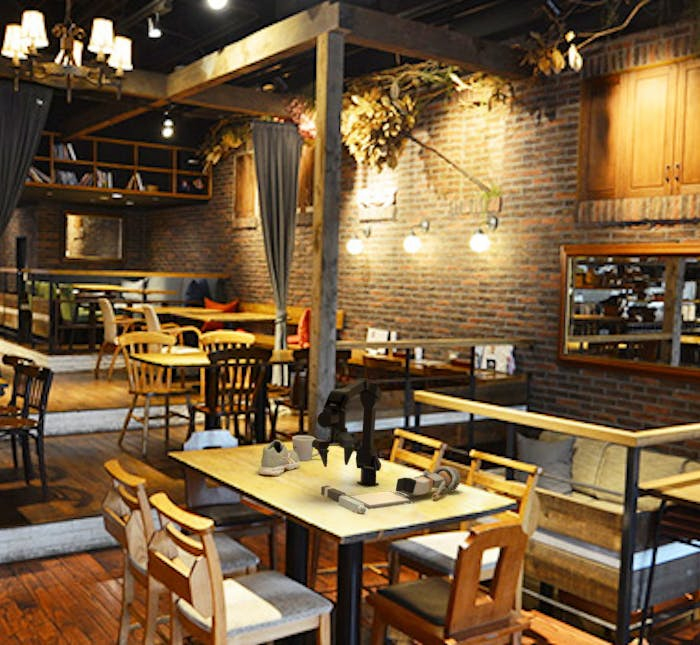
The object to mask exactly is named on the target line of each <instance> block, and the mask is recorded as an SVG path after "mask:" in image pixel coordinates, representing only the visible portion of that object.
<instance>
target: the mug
mask: <svg viewBox="0 0 700 645" xmlns="http://www.w3.org/2000/svg"><path fill="white" fill-rule="evenodd" d="M314 439H316V437H315V436H312V435H302V434H301V435H295V436H292V437H291V440H292V449H293V451H295V452H296V453H297V454H298V457H299V462H309V461H311V460H312V458H314V457H317V456H320V454H319V452H318V451H317V452H316V453H313V452H314V447H312V442H313V440H314Z"/></svg>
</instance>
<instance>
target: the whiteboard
mask: <svg viewBox="0 0 700 645" xmlns="http://www.w3.org/2000/svg"><path fill="white" fill-rule="evenodd" d="M348 497H350V498H352V499H355V500H357V501H359V502H361V503H363V504H364V506H365V508H366V507H367V508H366V509H368V510H371V508H373V509H378V508H385V507H392V505H394V506H400V505H399V504H402V505H405V504H404V503H409V504H412V503H411V502H414V500H413V499H410V498H409V497H407V494H404V493H401V492H398V491H396V490H395V491H390V490H389V491H381V492H373V493H372V492H371V493H364V494H356V495H348ZM414 503H415V502H414Z"/></svg>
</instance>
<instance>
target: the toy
mask: <svg viewBox="0 0 700 645" xmlns="http://www.w3.org/2000/svg"><path fill="white" fill-rule="evenodd" d="M460 484H461V474H460V472H459V470H458V469H457V468H455V467H454V466H449V465H447V466H446V465H441V466H438V467H437V468H435V469H434V470H433V471H432V472H431V471H430V470H428V469H427V468H426V469H425V470H424V471H423V474H421V475H419V476H414V477H401V478H397V480H396V486H395V492H396V491H397V492H400V493H402V494H405V495H406V496H410V497H415V496H418V495H420V496H421V495H424V494H426V493H429V492H431V491H432V490H433V489H437V491H436V492H434V493H433V494H432V495H431V498H433V499H437V500H438V498H439V495H440V494H441V495H445V494H446V492H448V493H450V492H451V490H453V491H454V492H456V490H457V491H458V489H457V488H459V486H460ZM444 488H445V490H444ZM454 489H455V490H454Z"/></svg>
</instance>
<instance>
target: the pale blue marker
mask: <svg viewBox="0 0 700 645" xmlns="http://www.w3.org/2000/svg"><path fill="white" fill-rule="evenodd" d="M348 496H349V495H348ZM348 496H347V495H346V496H339V502H338V505H339V506H341V507H343V508H345V509H347V508H348V509H347V510H349V509H350V510H349V511H351V510H352V512H353V511H354V512H353V513H355V512H356V514H364V513H366V511H367V508H366V507H365V506H364V504H363V503H361V502H359V501H357V500H355V499H352V498H350V497H348Z"/></svg>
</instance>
